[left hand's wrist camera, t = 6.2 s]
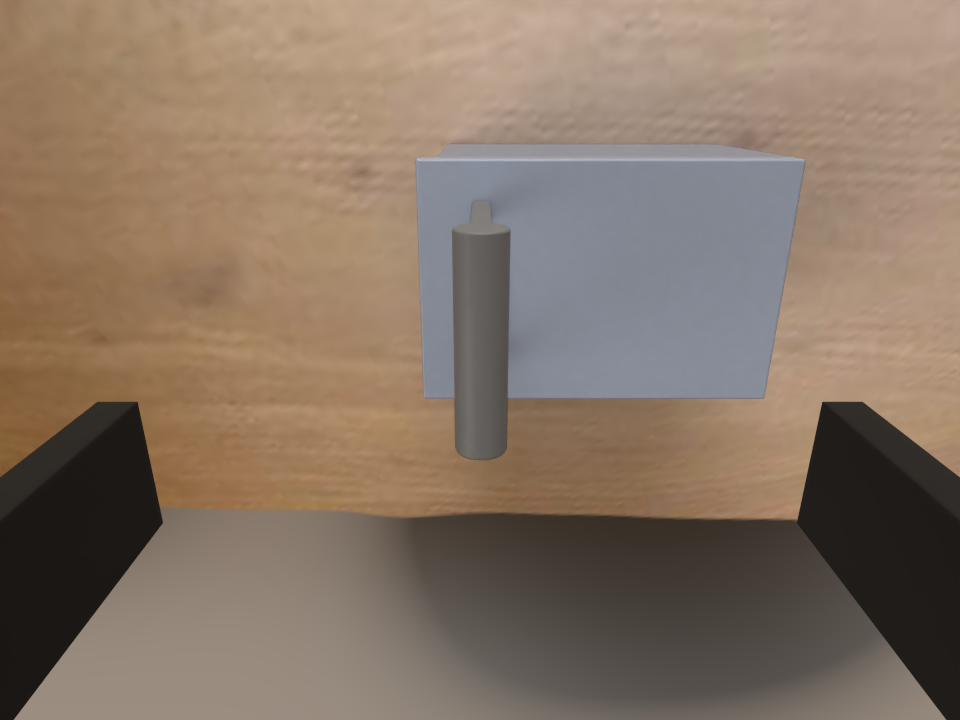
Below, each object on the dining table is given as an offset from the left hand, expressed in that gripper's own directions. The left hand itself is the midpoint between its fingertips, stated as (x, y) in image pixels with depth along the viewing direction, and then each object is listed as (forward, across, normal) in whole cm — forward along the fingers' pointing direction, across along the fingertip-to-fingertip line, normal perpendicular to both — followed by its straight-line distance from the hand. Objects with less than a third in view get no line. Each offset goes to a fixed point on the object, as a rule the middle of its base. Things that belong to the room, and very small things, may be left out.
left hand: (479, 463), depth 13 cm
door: (+14, +5, 0) cm, 15 cm away
